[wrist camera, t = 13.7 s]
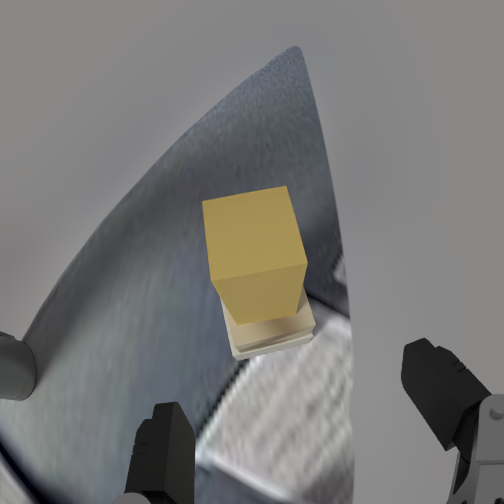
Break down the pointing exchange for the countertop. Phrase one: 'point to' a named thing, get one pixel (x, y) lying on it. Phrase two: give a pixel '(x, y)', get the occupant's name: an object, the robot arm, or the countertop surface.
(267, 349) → the cream tower base
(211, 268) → the mustard block
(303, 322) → the birch tower top
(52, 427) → the countertop surface
